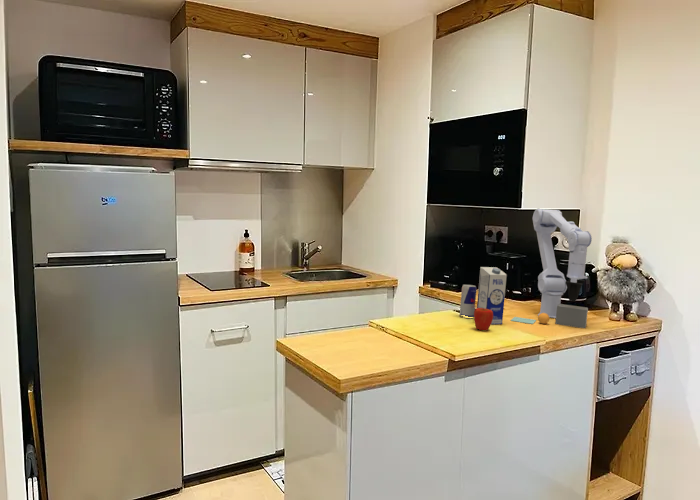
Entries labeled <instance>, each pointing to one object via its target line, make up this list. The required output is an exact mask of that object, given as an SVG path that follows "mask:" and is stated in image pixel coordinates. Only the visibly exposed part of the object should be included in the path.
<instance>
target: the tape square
mask: <svg viewBox="0 0 700 500" xmlns="http://www.w3.org/2000/svg"><path fill="white" fill-rule="evenodd" d="M510 321H511V322H517V323H523V324H527V325H528V324H529V325H534V324H535V323H536V321H537V320H536V319H533V318H532V319H531V318H525V317H518V316H513V317H512V318H511V319H510Z"/></svg>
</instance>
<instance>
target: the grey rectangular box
mask: <svg viewBox="0 0 700 500" xmlns="http://www.w3.org/2000/svg"><path fill="white" fill-rule="evenodd" d="M588 311H589V307H585V306H577V305H571V304H563V303H560V304H558V305H557V312H556V318H555V325H559V326H560V325H561V326H566V327H573V328H580V329H586V327H587V323H588V322H587V321H588V320H587V319H588V313H589V312H588Z"/></svg>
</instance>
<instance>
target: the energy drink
mask: <svg viewBox="0 0 700 500" xmlns="http://www.w3.org/2000/svg"><path fill="white" fill-rule="evenodd" d="M476 300H477V286H476V285H473V284H462V287H461V294H460V306H459V316H460V315H465V316H468V317H474V311H475V309H476Z"/></svg>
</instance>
